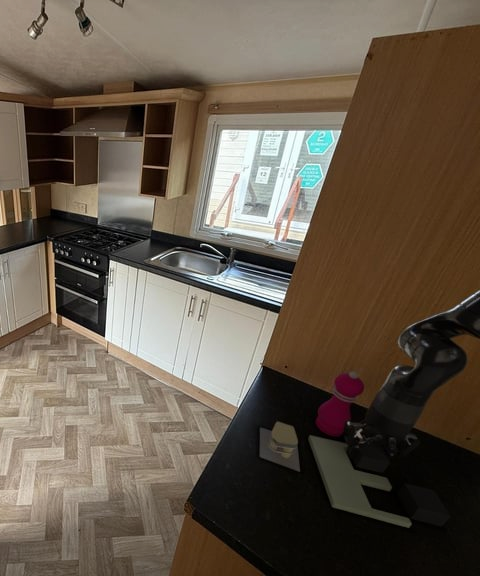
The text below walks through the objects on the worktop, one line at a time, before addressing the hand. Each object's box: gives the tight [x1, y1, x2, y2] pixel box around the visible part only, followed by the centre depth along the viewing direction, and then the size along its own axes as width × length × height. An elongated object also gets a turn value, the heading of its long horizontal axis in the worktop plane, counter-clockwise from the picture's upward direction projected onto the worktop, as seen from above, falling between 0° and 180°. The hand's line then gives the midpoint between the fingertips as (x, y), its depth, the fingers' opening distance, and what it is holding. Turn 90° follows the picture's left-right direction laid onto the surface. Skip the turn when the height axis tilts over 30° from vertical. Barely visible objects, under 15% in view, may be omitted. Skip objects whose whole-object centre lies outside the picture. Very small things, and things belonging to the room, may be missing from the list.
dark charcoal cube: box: [352, 440, 391, 474], centre depth 76 cm, size 5×5×4 cm
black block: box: [396, 482, 452, 528], centre depth 67 cm, size 5×5×4 cm
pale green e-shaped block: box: [307, 434, 413, 529], centre depth 74 cm, size 14×18×2 cm
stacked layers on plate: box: [259, 421, 301, 473], centre depth 80 cm, size 10×9×6 cm
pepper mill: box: [315, 371, 365, 438], centre depth 83 cm, size 7×7×20 cm
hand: (365, 458), depth 77 cm, fingers closed on dark charcoal cube, 5 cm apart
